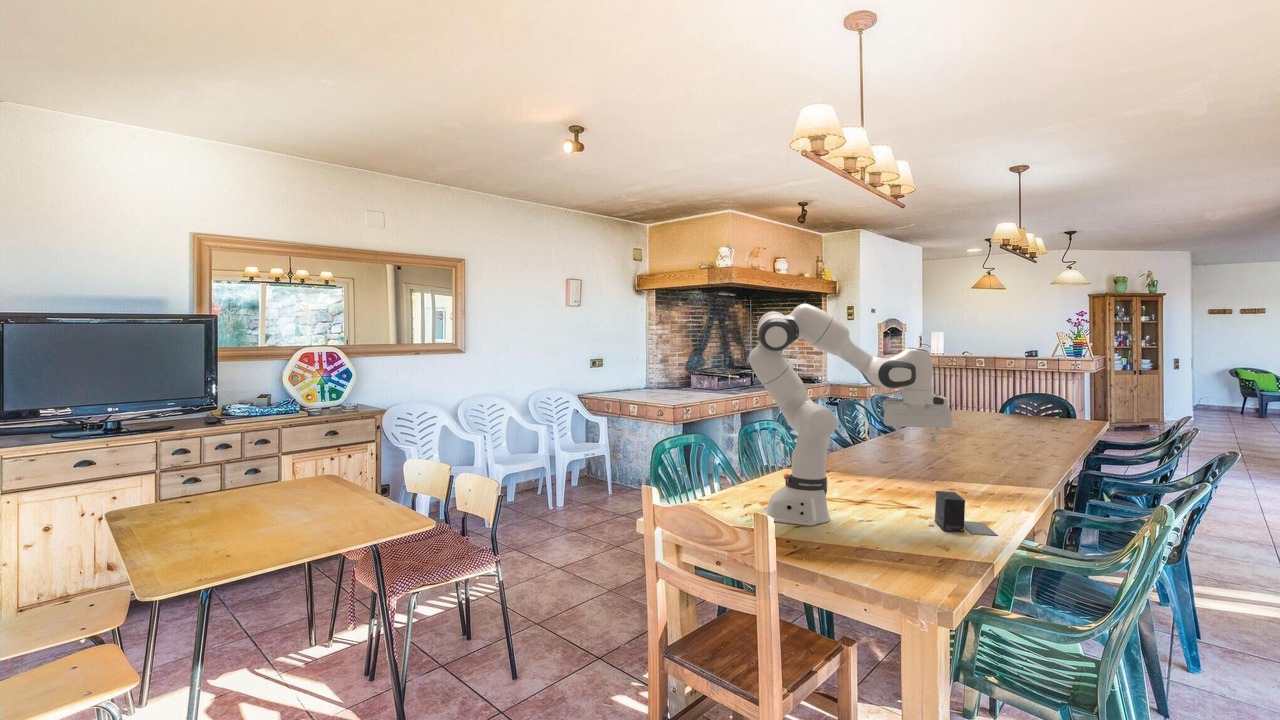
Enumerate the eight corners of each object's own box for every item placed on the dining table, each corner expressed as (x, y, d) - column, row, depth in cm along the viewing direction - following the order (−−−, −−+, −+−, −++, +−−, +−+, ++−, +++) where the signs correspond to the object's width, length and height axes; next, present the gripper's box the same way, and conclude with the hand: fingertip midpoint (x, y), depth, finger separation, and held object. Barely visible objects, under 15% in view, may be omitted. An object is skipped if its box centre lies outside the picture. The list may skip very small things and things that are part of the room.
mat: (971, 534, 189) (971, 533, 189) (957, 521, 201) (957, 520, 201) (997, 535, 187) (997, 535, 187) (982, 523, 200) (982, 522, 200)
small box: (965, 533, 190) (966, 499, 190) (943, 531, 191) (944, 498, 191) (955, 522, 200) (956, 491, 200) (933, 521, 202) (934, 490, 201)
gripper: (882, 398, 197) (882, 440, 197) (953, 400, 189) (953, 444, 190) (882, 396, 203) (882, 437, 203) (951, 397, 195) (950, 440, 196)
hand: (917, 440), depth 196 cm, fingers open, 8 cm apart
